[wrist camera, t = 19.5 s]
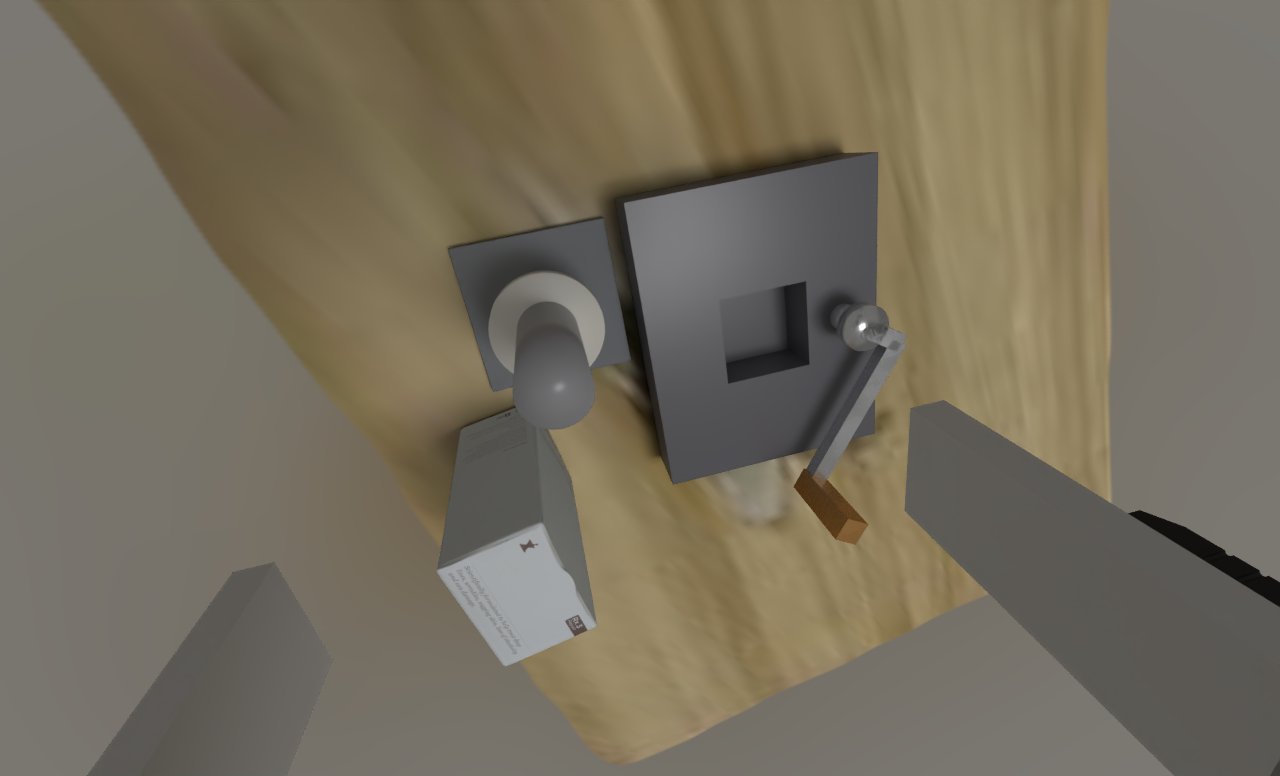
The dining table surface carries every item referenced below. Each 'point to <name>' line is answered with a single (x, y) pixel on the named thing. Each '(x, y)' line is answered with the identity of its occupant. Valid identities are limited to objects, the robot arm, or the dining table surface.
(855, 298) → the socket block
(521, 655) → the skincare box
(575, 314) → the plug
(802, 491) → the clip
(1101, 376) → the dining table surface
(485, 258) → the pad
